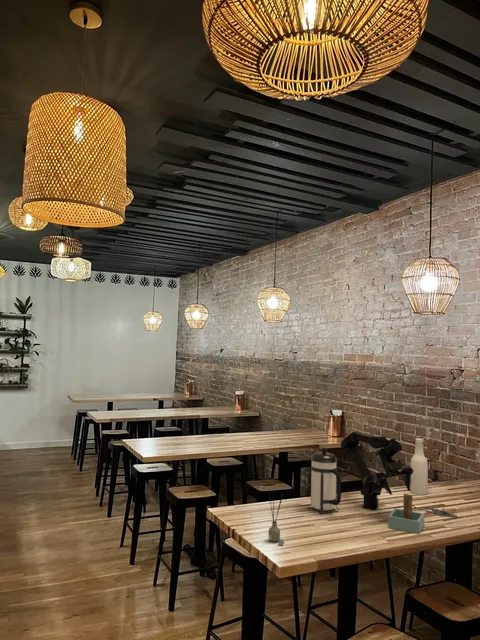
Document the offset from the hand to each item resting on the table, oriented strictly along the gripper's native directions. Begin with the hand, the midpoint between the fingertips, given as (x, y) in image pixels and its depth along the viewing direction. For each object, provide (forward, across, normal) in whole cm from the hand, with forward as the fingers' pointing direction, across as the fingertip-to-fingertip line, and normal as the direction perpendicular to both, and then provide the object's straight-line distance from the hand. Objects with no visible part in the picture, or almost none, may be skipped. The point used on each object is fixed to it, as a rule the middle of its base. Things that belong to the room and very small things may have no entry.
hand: (400, 492), depth 223 cm
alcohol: (-9, +32, +45) cm, 56 cm away
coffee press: (-4, -31, +20) cm, 37 cm away
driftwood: (+8, +22, +19) cm, 30 cm away
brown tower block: (+14, -2, +1) cm, 14 cm away
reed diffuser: (+12, -64, -12) cm, 66 cm away
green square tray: (+14, -3, +2) cm, 14 cm away
